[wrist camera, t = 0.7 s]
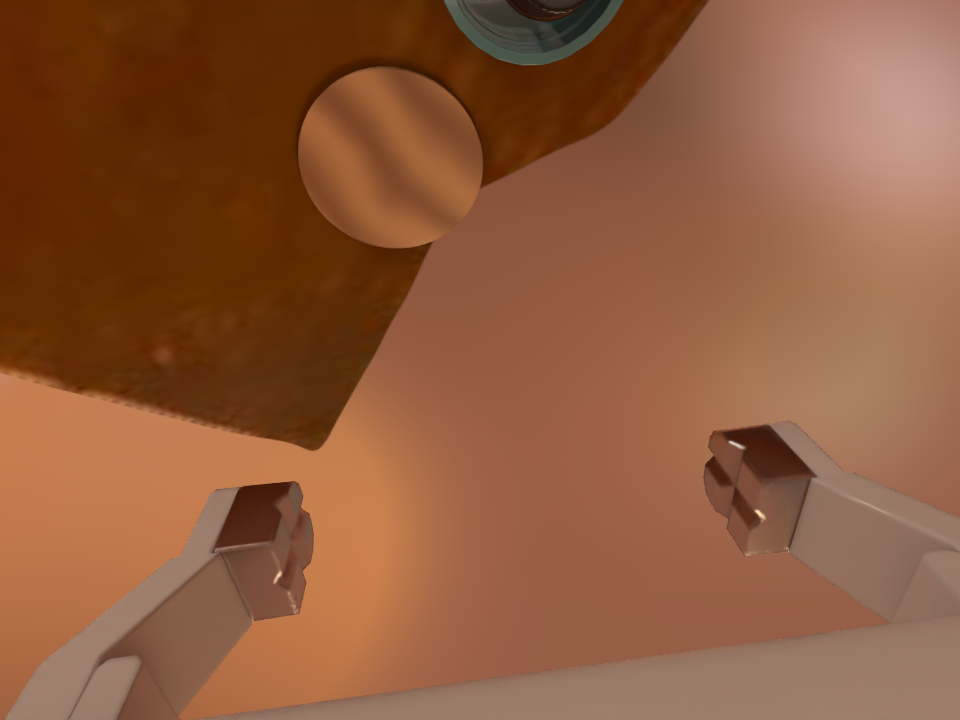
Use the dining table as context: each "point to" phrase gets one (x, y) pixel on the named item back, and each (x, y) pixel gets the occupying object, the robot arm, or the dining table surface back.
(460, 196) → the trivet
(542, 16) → the supplement bottle
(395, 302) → the dining table surface
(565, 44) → the pan
